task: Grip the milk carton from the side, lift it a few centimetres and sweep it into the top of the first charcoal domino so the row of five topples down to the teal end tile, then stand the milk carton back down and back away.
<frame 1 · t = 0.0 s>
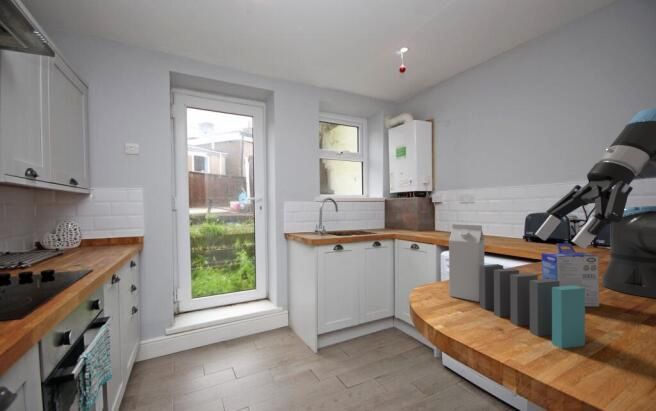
hand: (557, 241, 67), 15 cm above the counter, tool tilted 35°, fingers open, 13 cm apart
domino 5: (568, 344, 47), on the counter
domino 3: (524, 323, 56), on the counter
milk carton: (466, 296, 72), on the counter
domino 4: (544, 332, 52), on the counter
domino 2: (506, 314, 60), on the counter
ink cartridge box: (569, 304, 67), on the counter
domino 1: (491, 307, 64), on the counter
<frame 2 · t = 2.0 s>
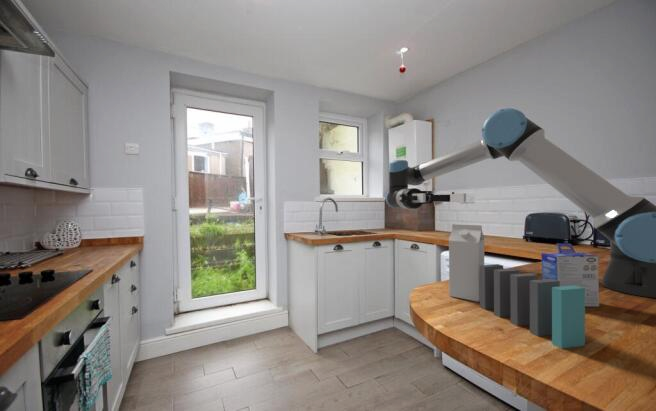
hand: (445, 197, 81), 26 cm above the counter, tool horizontal, fingers open, 13 cm apart
nothing on the counter moved.
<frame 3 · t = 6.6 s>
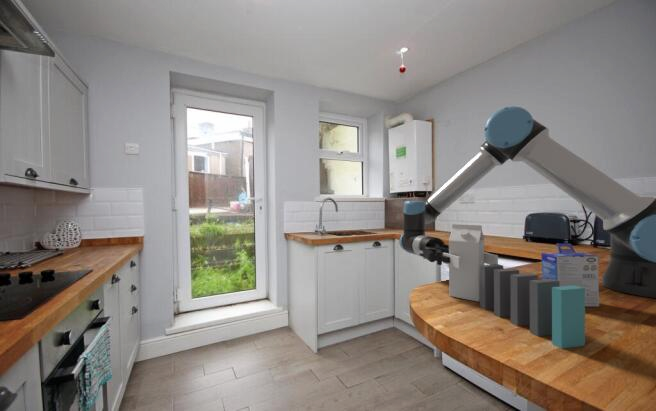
hand: (478, 261, 68), 10 cm above the counter, tool horizontal, fingers closed on milk carton, 10 cm apart
milk carton: (466, 296, 72), on the counter, touching gripper
everything else where it was.
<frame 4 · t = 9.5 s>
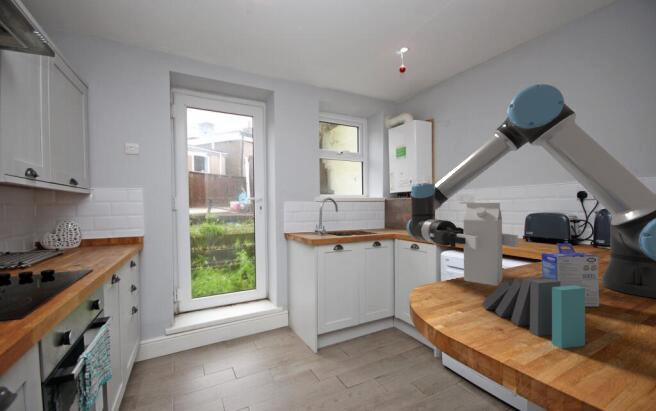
hand: (497, 242, 62), 16 cm above the counter, tool horizontal, fingers closed on milk carton, 10 cm apart
domino 3: (524, 322, 56), on the counter, tilted 16°, touching domino 2
milk carton: (483, 281, 66), point 6 cm above the counter, touching gripper
domino 2: (507, 313, 60), on the counter, tilted 31°, touching domino 1, domino 3
domino 1: (492, 305, 64), point 1 cm above the counter, tilted 43°, touching domino 2
everything else where it was.
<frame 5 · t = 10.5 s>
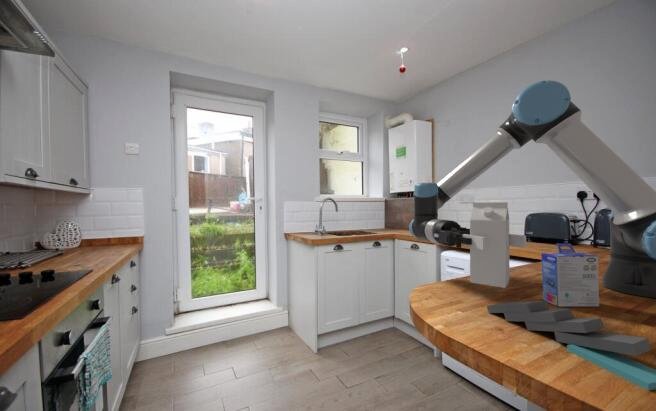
hand: (504, 242, 60), 16 cm above the counter, tool horizontal, fingers closed on milk carton, 10 cm apart
domino 5: (578, 347, 46), on the counter, tilted 90°, touching domino 4
domino 3: (534, 323, 54), point 1 cm above the counter, tilted 69°, touching domino 2
milk carton: (490, 282, 65), point 6 cm above the counter, touching gripper
domino 4: (563, 334, 49), point 1 cm above the counter, tilted 76°, touching domino 5
domino 2: (513, 315, 58), point 1 cm above the counter, tilted 68°, touching domino 1, domino 3
domino 1: (496, 307, 62), point 1 cm above the counter, tilted 68°, touching domino 2
everything else where it was.
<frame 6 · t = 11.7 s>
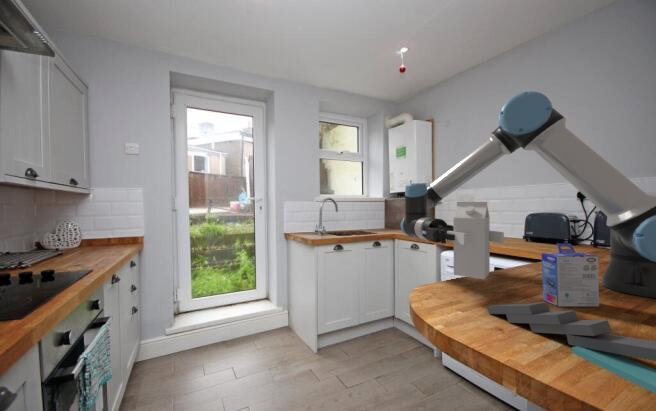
hand: (484, 238, 66), 16 cm above the counter, tool horizontal, fingers closed on milk carton, 10 cm apart
milk carton: (471, 275, 71), point 6 cm above the counter, touching gripper
domino 4: (573, 336, 48), point 1 cm above the counter, tilted 79°, touching domino 5
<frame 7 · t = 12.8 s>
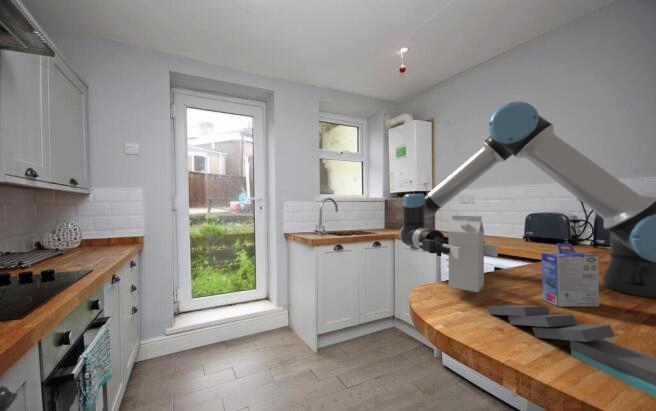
hand: (478, 252, 68), 12 cm above the counter, tool horizontal, fingers closed on milk carton, 10 cm apart
domino 5: (583, 351, 45), on the counter, tilted 90°
domino 3: (546, 330, 51), point 1 cm above the counter, tilted 67°, touching domino 2, domino 4
milk carton: (466, 287, 73), point 2 cm above the counter, touching gripper
domino 4: (579, 341, 45), point 2 cm above the counter, tilted 90°, touching domino 3
domino 2: (520, 319, 56), point 1 cm above the counter, tilted 68°, touching domino 1, domino 3
when the fingers open (11 cm above the counter, at t = 13.6 s): milk carton stays where it is, on the counter.
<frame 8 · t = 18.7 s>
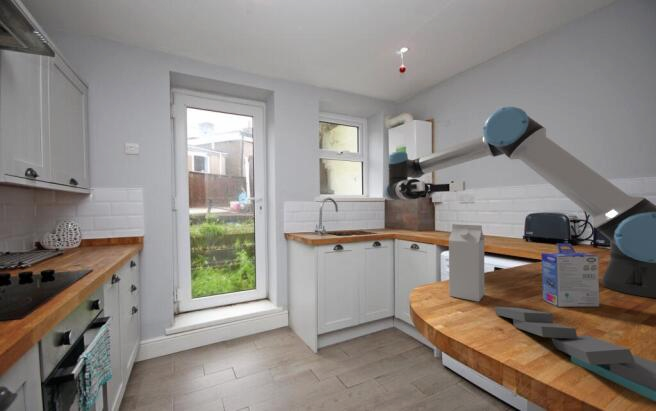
hand: (444, 185, 82), 30 cm above the counter, tool horizontal, fingers open, 13 cm apart
domino 5: (581, 356, 43), on the counter, tilted 90°
domino 3: (570, 341, 46), point 1 cm above the counter, tilted 75°
milk carton: (466, 296, 73), on the counter
domino 4: (617, 361, 39), point 2 cm above the counter, tilted 90°
domino 2: (527, 323, 54), point 1 cm above the counter, tilted 75°, touching domino 1
domino 1: (506, 311, 60), point 1 cm above the counter, tilted 75°, touching domino 2
everything else where it was.
at the end: domino 5 tilted 90°; milk carton tilted 0°; the gripper is holding nothing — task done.
